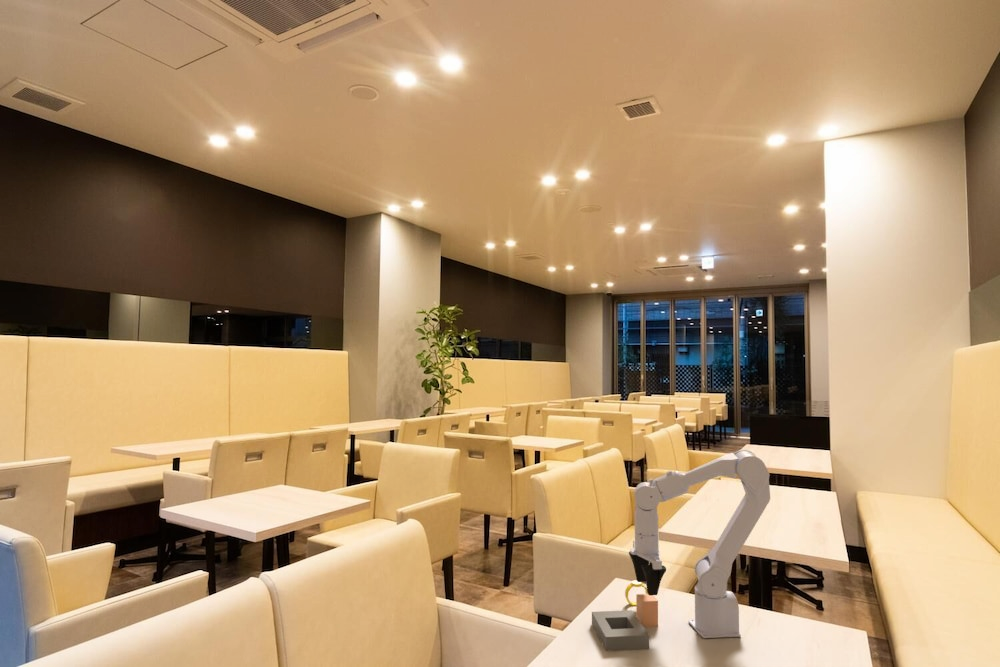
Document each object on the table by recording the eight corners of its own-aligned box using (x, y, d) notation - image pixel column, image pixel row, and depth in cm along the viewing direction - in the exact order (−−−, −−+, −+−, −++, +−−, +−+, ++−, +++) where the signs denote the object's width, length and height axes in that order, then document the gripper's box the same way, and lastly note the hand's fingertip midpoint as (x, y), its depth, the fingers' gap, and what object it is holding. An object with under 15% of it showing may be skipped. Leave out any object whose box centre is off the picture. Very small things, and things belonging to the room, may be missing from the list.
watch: (628, 608, 142) (626, 585, 142) (624, 603, 145) (623, 581, 145) (650, 606, 142) (648, 583, 143) (646, 601, 145) (645, 578, 145)
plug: (651, 618, 136) (651, 593, 136) (658, 625, 132) (657, 600, 132) (636, 618, 136) (636, 594, 136) (642, 626, 132) (642, 601, 132)
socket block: (631, 622, 134) (631, 610, 134) (649, 648, 122) (649, 635, 122) (591, 624, 133) (591, 611, 133) (605, 650, 121) (605, 637, 121)
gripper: (621, 523, 142) (621, 576, 141) (641, 542, 127) (641, 601, 127) (647, 523, 142) (648, 575, 142) (670, 541, 128) (670, 600, 127)
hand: (646, 587), depth 134 cm, fingers open, 7 cm apart
